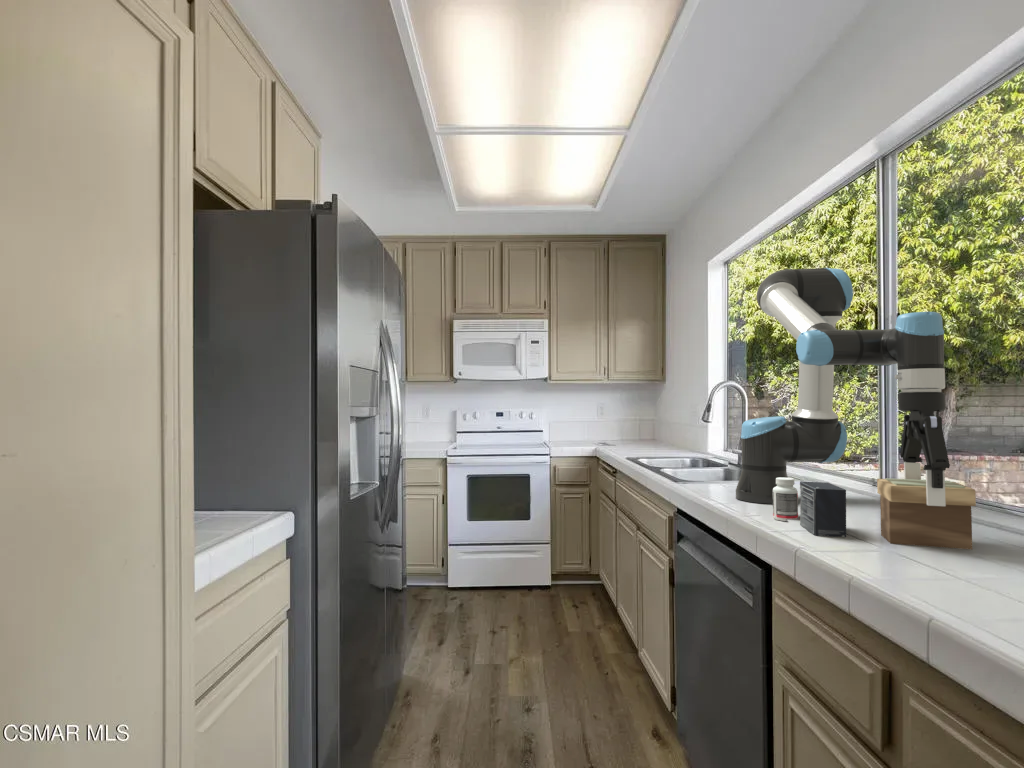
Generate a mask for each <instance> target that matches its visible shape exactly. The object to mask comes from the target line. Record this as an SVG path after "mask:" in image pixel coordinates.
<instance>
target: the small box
mask: <svg viewBox="0 0 1024 768" xmlns="http://www.w3.org/2000/svg"><path fill="white" fill-rule="evenodd" d="M799 489H800V491H799V495H800V499H799V501H800V508H799V510H800V513H799V515H800V518H799V520H800V522H799V526H801V527H802V528H803V529H805V530H806V531H807V532H809V533H810V534H811V535H813V536H815V537H829V538H830V537H831V538H836V537H837V538H846V537H847V489H846V488H845V489H844V488H843V487H841V486H838V485H835V484H832V483H830V482H818V481H806V480H805V481H803V480H801V481H799Z"/></svg>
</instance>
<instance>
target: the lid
mask: <svg viewBox="0 0 1024 768" xmlns="http://www.w3.org/2000/svg"><path fill="white" fill-rule="evenodd" d="M876 481H877V487H876V488H877V489H876V490H877V494H878V495H879V496H880V495H881V496H883V497H885V498H886V499H888V500H889V501H891V502H906V503H925V504H927V499H926V479H921V480H918V479H904V478H889V477H888V478H886V477H885V478H876ZM976 497H977V495H976V489H975V488H971V487H970V486H966V485H964V484H961V483H959V482H956V481H950V480H945V502H946V505H964V506H971V507H976V505H977V503H976V501H977V500H976Z"/></svg>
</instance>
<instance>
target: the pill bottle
mask: <svg viewBox="0 0 1024 768" xmlns="http://www.w3.org/2000/svg"><path fill="white" fill-rule="evenodd" d="M776 484H777V486H776V487H774V488H773V504H772V516H773V517H772V518H773V519H774V520H776V521H781V522H788V520H797V519H799V492H798V489H797V488H795V487H794V486H795V485H796V483H795V479H794V478H793V477H788V478H784V477H779V478H776Z"/></svg>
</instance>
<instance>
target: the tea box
mask: <svg viewBox="0 0 1024 768" xmlns="http://www.w3.org/2000/svg"><path fill="white" fill-rule="evenodd" d="M879 501H880V502H879V503H880V506H879V507H880V536H881V537H882V538H883V539H885V540H886V541H887V542H888V543H889V544H893V545H906V546H920V547H931V548H947V549H958V550H959V549H960V550H973V528H972V527H973V525H972V524H973V522H972V521H973V519H972V517H973V516H972V506H964V505H946V506H928V505H927V504H925V503H906V502H891V501H889V500H888V499H886V498H885V497H883V496H881V495H880V494H879Z"/></svg>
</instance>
